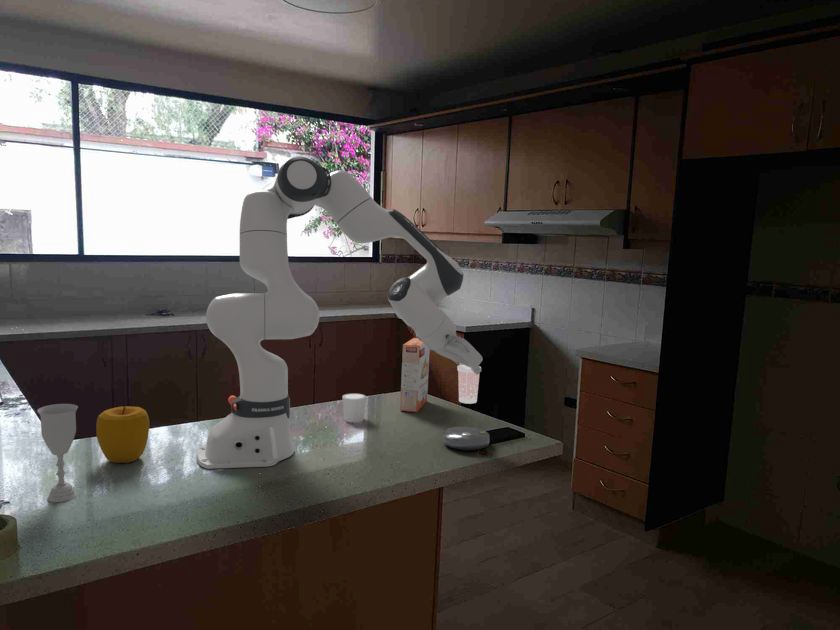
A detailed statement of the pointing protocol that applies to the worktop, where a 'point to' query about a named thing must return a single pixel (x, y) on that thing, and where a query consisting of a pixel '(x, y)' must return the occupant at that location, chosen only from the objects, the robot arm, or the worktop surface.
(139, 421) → the apple
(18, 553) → the worktop surface
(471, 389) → the beverage cup
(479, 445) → the turntable
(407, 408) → the cracker box
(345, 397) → the white short cylinder
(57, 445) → the chalice
